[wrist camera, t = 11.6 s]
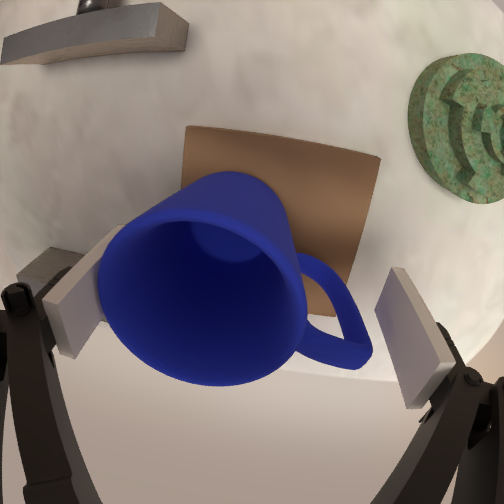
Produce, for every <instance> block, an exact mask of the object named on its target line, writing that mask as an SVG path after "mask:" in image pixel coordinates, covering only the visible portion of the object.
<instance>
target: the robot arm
mask: <svg viewBox="0 0 504 504" xmlns="http://www.w3.org/2000/svg"><path fill="white" fill-rule="evenodd" d="M124 226H125V225H120V224H118V225H117V226H116V227H115V228H114V229H113V230H112V231H110V232H109V233H108V234H107V235H106V236H105V237H104V238H103V239H102V240H101V241H100V242H99V243H97V244H96V245H95V246H94V247H93V248H92V249H91V250H90V251H89V252H88V253H87V254H86V255H85V256H84V257H83V258H82V259H81V260H80V261H79V262H78V263H77V264H76V265H75V266H74V267H70V266H68V267H66V268H65V269H63V270H61V271H59V272H58V273H57V274H56V275H55V276H54V277H53V279H51V280H50V281H49V282H48V284H46V285H45V286H44V287H43V288H42V289H41V290H40V291H39V292H38V293H37V294H36V295H35V296H34V297H33V294H32V290H31V287H30V285H28V284H27V283H23V282H19V283H14V284H11V285H9V286H8V287H6V288H5V289H4V290H3V291H2V294H1V298H2V301H3V304H4V307H5V310H0V504H3V496H2V444H3V443H2V442H3V429H4V418H5V409H6V401H7V394H8V387H9V388H10V397H11V405H12V412H13V419H14V426H15V431H16V436H17V442H18V446H19V451H20V456H21V460H22V464H23V468H24V472H25V476H26V480H27V484H26V485H25V486H24V487H23V495H24V500H25V503H26V504H103V503H102V502H101V500H100V498H99V496H98V493H97V491H96V489H95V487H94V485H93V482H92V480H91V477H90V475H89V473H88V470H87V468H86V465H85V463H84V460H83V457H82V455H81V452H80V449H79V447H78V444H77V441H76V438H75V435H74V432H73V429H72V426H71V423H70V419H69V416H68V412H67V409H66V406H65V402H64V398H63V394H62V390H61V386H60V382H59V378H58V374H57V369H56V364H55V359H54V355H53V353H52V349H53V347H54V346H55V345H57V347H58V350H59V353H60V354H61V355H64V356H67V357H69V358H72V359H75V358H76V357H77V356H78V354H79V352H80V350H81V349H82V347H83V346H84V345H85V343H86V341H87V340H88V338H89V337H90V335H91V334H92V333H93V331H94V329H95V328H96V327H97V325H98V324H99V322H100V321H101V319H102V318H103V316H104V312H103V310H102V307H101V304H100V299H99V294H98V270H99V265H100V262H101V259H102V256H103V253H104V251H105V249H106V247H107V245H108V244H109V242H110V241H111V240H112V238H113V237H114V236H115V235H116V234H117V233H118V232H119V231H120V230H121V229H122V228H123V227H124ZM375 313H376V316H377V319H378V321H379V324H380V327H381V330H382V333H383V336H384V338H385V341H386V344H387V347H388V350H389V353H390V356H391V359H392V362H393V365H394V369H395V372H396V375H397V378H398V381H399V385H400V388H401V391H402V394H403V398H404V402H405V405H406V409H418V408H419V409H421V408H423V406H424V405H425V404H426V402H427V401H428V400H430V403H431V406H432V407H431V408H430V409H429V410H428V411H427V412H426V414H425V415H424V416H423V417H422V418H421V419H420V421H419V423H421V422H422V423H421V425H420V427H419V428H418V430H417V432H416V434H415V436H414V438H413V439H412V441H411V443H410V444H409V446H408V448H407V450H406V451H405V453H404V455H403V456H402V458H401V460H400V461H399V463H398V464H397V466H396V467H395V469H394V471H393V472H392V474H391V475H390V477H389V478H388V480H387V481H386V482H385V484H384V485H383V487H382V488H381V490H380V491H379V493H378V494H377V495H376V497H375V498H374V499H373V501H372V502H371V503H370V504H440V503H441V501H442V499H443V497H444V495H445V493H446V491H447V489H448V487H449V485H450V483H451V480H452V478H453V476H454V474H455V471H456V469H457V466H458V472H457V478H456V483H455V488H454V493H453V498H452V502H451V504H504V377H500V378H499V379H498V380H497V381H496V383H495V384H490V383H487V382H484V381H483V378H482V376H481V375H480V374H479V372H477V371H476V370H475V369H473V368H471V367H466V366H465V364H464V362H463V360H462V358H461V356H460V354H459V352H458V350H457V348H456V346H454V345H455V344H454V343H453V341H452V340H451V337H450V335H449V333H448V332H447V330H446V329H445V328H444V327H443V326H442V325H441V324H440V323H438V322H435V320H434V319H433V317H432V315H431V313H430V311H429V310H428V308H427V306H426V304H425V303H424V301H423V299H422V297H421V296H420V294H419V292H418V291H417V289H416V287H415V286H414V284H413V282H412V281H411V279H410V277H409V276H408V274H407V272H406V271H405V269H402V268H396V267H391V270H390V272H389V275H388V278H387V280H386V283H385V285H384V288H383V290H382V293H381V295H380V298H379V300H378V303H377V305H376V307H375ZM490 426H491V428H490ZM458 464H459V465H458Z"/></svg>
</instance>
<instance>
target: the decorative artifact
mask: <svg viewBox="0 0 504 504" xmlns="http://www.w3.org/2000/svg"><path fill="white" fill-rule="evenodd" d="M408 128H409V134H410V138H411V142H412V145H413V149H414V151H415V153H416V156H417V158H418V160H419V162H420V163H421V165H422V166H423V168H424V169H425V171H426V172H427V173H428V174H429V175H430V176H431V178H433V179H434V180H435V181H436V182H437V183H438V184H440V185H441V186H443V187H444V188H446V189H448V190H449V191H451V192H452V193H454V194H455V195H457V196H459V197H460V198H462V199H464V200H466V201H469V202H472V203H477V204H489V203H493V202H496V201H499V200H501V199H503V198H504V66H503V65H502V64H500V63H499V62H497V61H496V60H494V59H492V58H490V57H488V56H485V55H481V54H475V53H467V54H461V55H455V56H450V57H445V58H442V59H439V60H437V61H435V62H433V63H432V64H430V65H429V66H428V67H427V68H426V69H425V70H424V71H423V72H422V73H421V74H420V76H419V77H418V79H417V80H416V83H415V85H414V87H413V89H412V92H411V96H410V100H409V106H408Z"/></svg>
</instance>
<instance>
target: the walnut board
mask: <svg viewBox="0 0 504 504" xmlns="http://www.w3.org/2000/svg"><path fill="white" fill-rule="evenodd" d="M380 161H381V159H380V158H378V157H377V156H373V155H369V154H365V153H361V152H357V151H352V150H348V149H344V148H339V147H334V146H330V145H325V144H320V143H315V142H309V141H304V140H298V139H293V138H287V137H281V136H275V135H268V134H261V133H254V132H247V131H239V130H231V129H222V128H213V127H202V126H187V127H186V132H185V143H184V155H183V168H182V182H181V190H182V189H183V188H185V187H187V186H188V185H190V184H192V183H193V182H195V181H197V180H198V179H200V178H202V177H204V176H207V175H210V174H213V173H217V172H225V171H233V172H240V173H245V174H248V175H251V176H253V177H255V178H257V179H259V180H261V181H262V182H264V183H265V184H266V185H268V186H269V187H270V188H271V189H272V190H273V191H274V192H275V194H276V195H277V196H278V198H279V199H280V201H281V202H282V204H283V207H284V209H285V212H286V214H287V218H288V222H289V226H290V230H291V234H292V238H293V242H294V246H295V250H296V253H304V254H307V255H310V256H313V257H315V258H317V259H319V260H321V261H322V262H324V263H325V264H327V265H328V266H329V267H331V268H332V269H333V270H334V271H335V272H336V273H337V274H338V275H339V277H340V278H341V279H342V281H343V282H344V284H345V285H346V284H347V281H348V278H349V275H350V272H351V268H352V265H353V262H354V259H355V256H356V252H357V249H358V246H359V242H360V239H361V235H362V232H363V228H364V225H365V221H366V217H367V214H368V210H369V206H370V202H371V199H372V195H373V191H374V187H375V183H376V178H377V174H378V170H379V166H380ZM301 276H302V280H303V284H304V289H305V293H306V298H307V309H308V314H315V315H323V316H330V317H335V316H336V312H335V309H334V307H333V305H332V303H331V301H330V299H329V297H328V296H327V294H326V293H325V291H324V290H323V289H322V288H321V286H320V285H319V284H318V283H317V282H315V281H314V280H313V279H311V278H309V277H308V276H306V275H304V274H302V273H301Z"/></svg>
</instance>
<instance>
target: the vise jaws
mask: <svg viewBox="0 0 504 504" xmlns="http://www.w3.org/2000/svg"><path fill="white" fill-rule="evenodd" d="M108 1H109V0H79V4H78V9H77V14H76V15H75V16H71V17H67V18H63V19H59V20H56V21H52V22H49V23H45V24H42V25H39V26H36V27H33V28H30V29H27V30H24V31H21V32H18V33H16V34H13V35H10V36H8V37H5V38H4V41H3V47H2V54H1V62H0V65H13V64H49V63H54V62H59V61H65V60H71V59H77V58H84V57H91V56H99V55H108V54H119V53H132V52H150V51H185V44H186V38H187V32H188V26H189V23H188V22H186V21H185V20H184V19H183V18H181V17H180V16H179V15H177V14H176V13H175V12H173V11H172V10H171V9H169V8H168V7H167V6H165V5H164V4H163V3H161V2H157V3H146V4H137V5H129V6H122V7H116V8H109V9H107V6H108ZM84 256H85V255H83V254H78V253H74V252H69V251H64V250H60V249H55V248H51V247H50V248H48V249H47V250H46V251H45V252H43V253H42V254H41V255H40V256H38V257H37V258H36V259H35V260H33V261H32V262H31V263H30V264H29V265H27V266H26V267H25V268H24V269H23V270H21V271H20V272H19V273H18V274H17V279H18V283H19V282H23V283H27V284H28V285H30V287H31V290H32V294H33V297H34V296H35V295H36V294H37V293H38V292H39V291H40V290H41V289H42V288H43V287H44V286H45V285H46V284H48V282H49V281H50V280H51V279H53V277H54V276H55V275H56V274H57V273H58V272H59V271H61V270H63V269H65V268H66V267H68V266H70V267H74V266H75V265H76V264H77V263H78V262H79V261H80V260H81V259H82V258H83V257H84ZM101 321H104V322H107V323H108V321H107V319H106V317H105V315H104V316H103V318H102V319H101Z"/></svg>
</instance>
